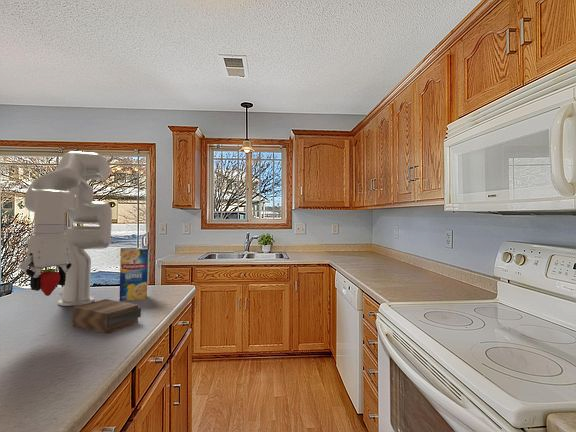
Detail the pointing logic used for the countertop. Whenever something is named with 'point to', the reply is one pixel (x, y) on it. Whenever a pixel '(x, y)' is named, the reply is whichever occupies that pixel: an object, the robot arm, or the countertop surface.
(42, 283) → the strawberry
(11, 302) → the countertop surface
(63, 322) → the countertop surface
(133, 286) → the blue yellow food box
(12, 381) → the countertop surface
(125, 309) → the brown wooden block
